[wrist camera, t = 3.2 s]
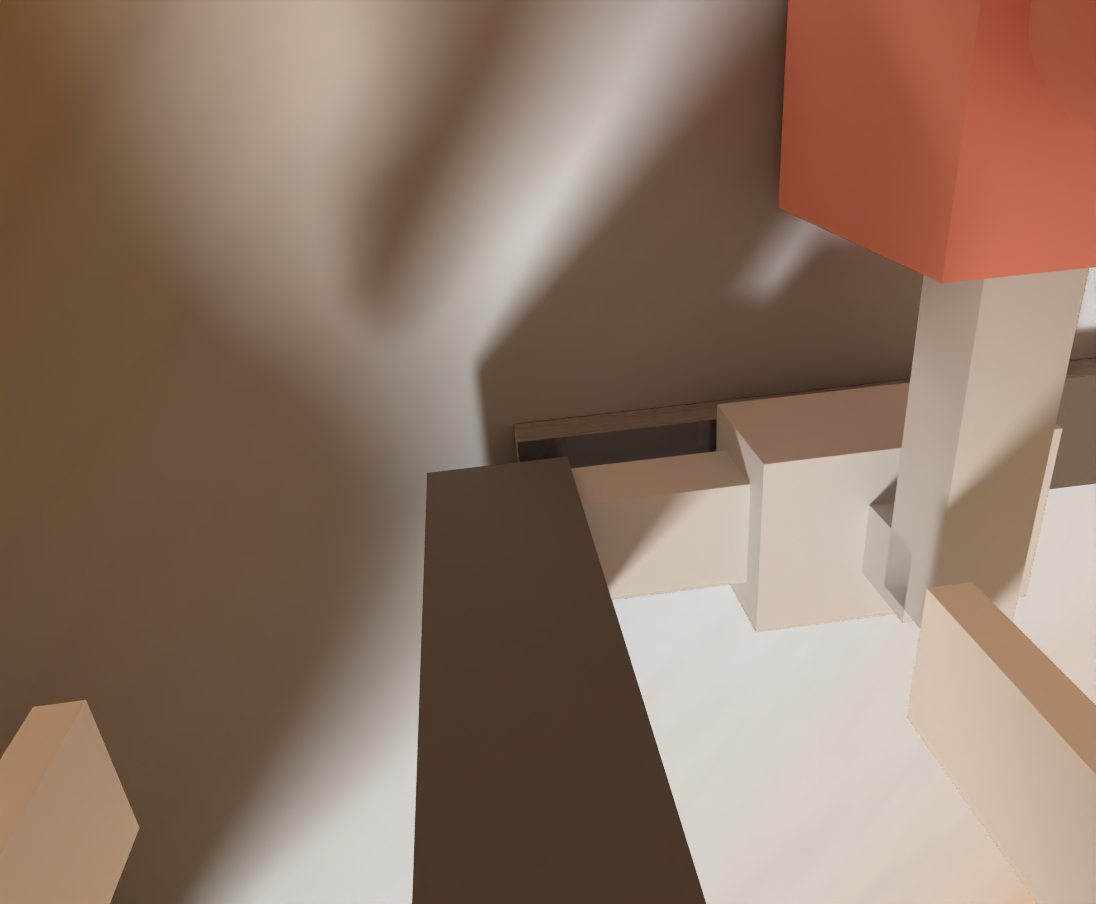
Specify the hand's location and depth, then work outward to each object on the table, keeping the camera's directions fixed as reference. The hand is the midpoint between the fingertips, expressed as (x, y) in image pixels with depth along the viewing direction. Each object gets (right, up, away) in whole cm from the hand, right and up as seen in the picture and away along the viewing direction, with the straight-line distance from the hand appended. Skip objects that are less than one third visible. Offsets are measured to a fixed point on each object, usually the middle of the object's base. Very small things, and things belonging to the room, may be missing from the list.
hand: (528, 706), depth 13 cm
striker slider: (+4, +9, +4) cm, 10 cm away
